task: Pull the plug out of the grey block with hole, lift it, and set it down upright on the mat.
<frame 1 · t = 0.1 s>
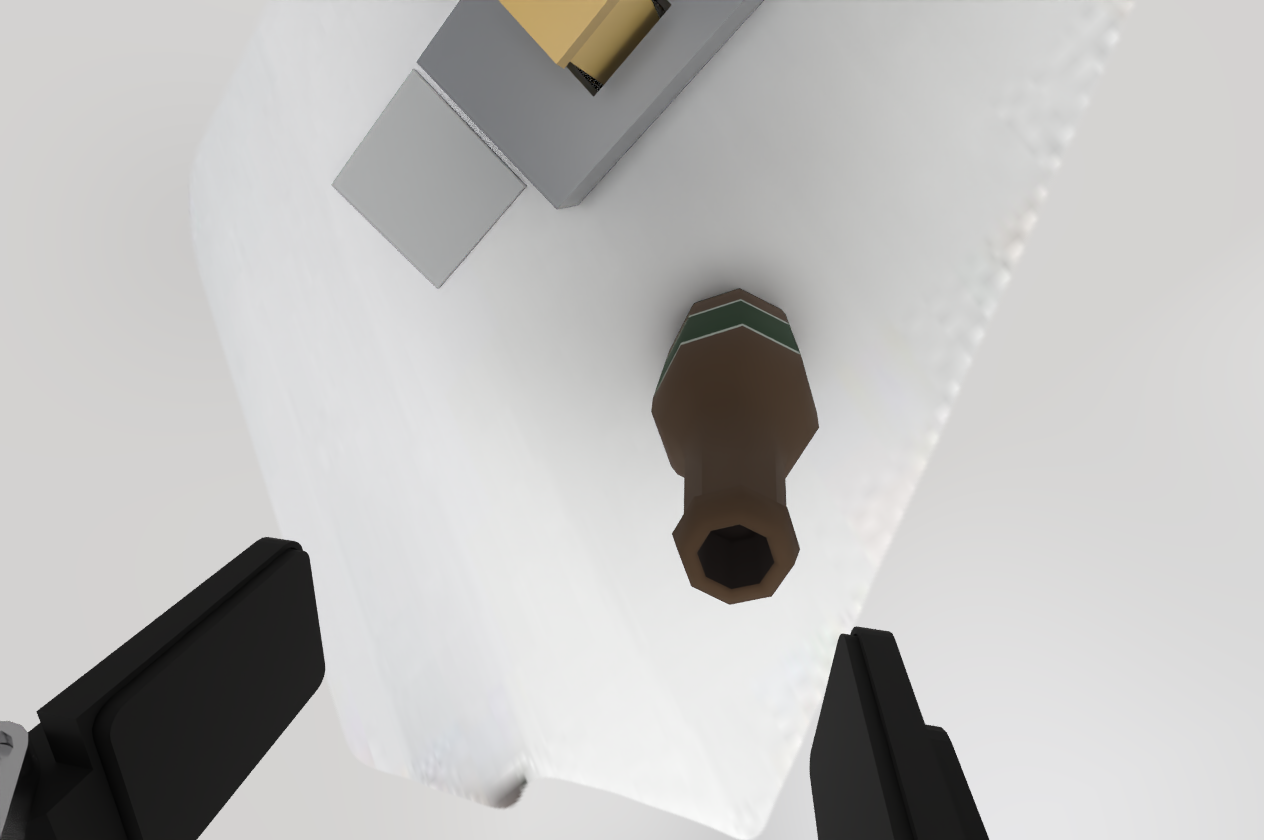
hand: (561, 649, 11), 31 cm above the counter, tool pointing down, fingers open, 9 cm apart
plug: (610, 29, 35), resting in grey block with hole
grey block with hole: (610, 29, 35), on the counter
beer bottle: (733, 346, 40), on the counter
mat: (428, 185, 39), on the counter
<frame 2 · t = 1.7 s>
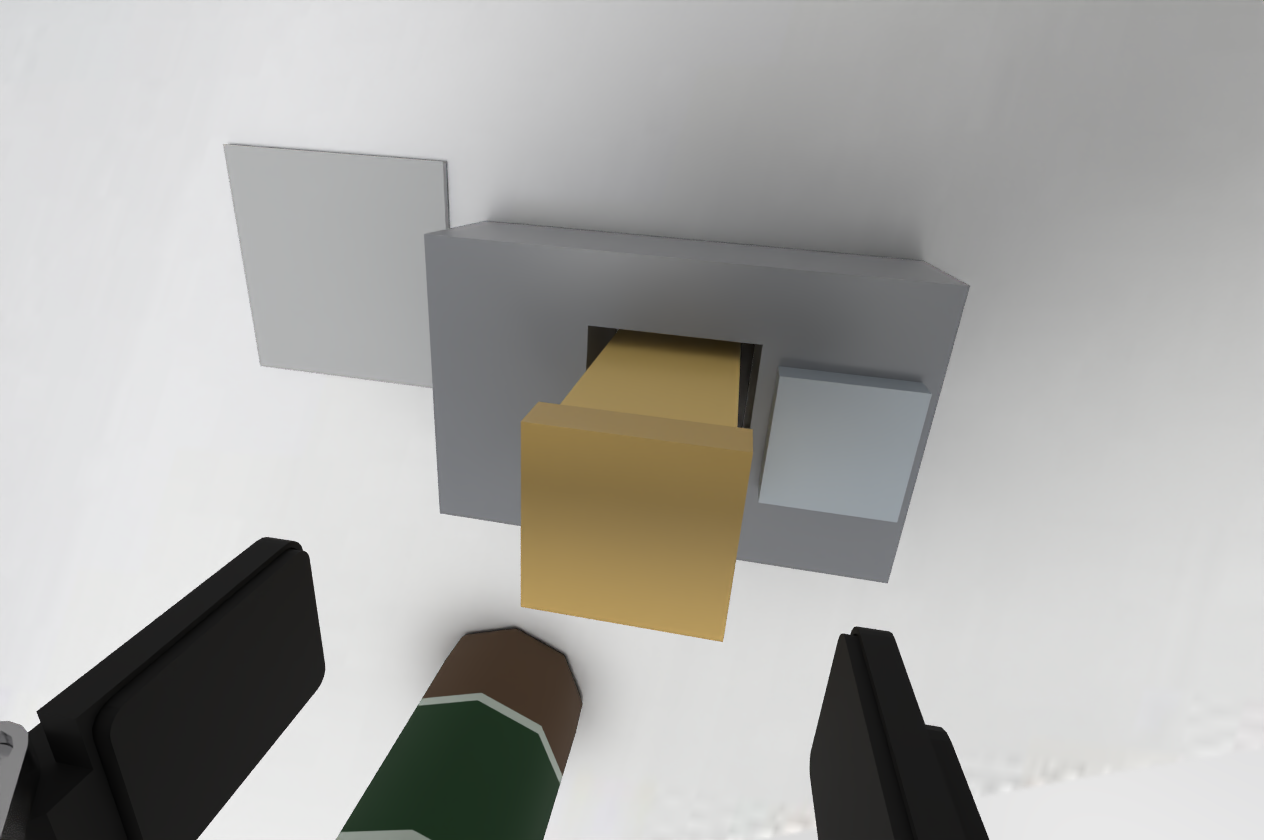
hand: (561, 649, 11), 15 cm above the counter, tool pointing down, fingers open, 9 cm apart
plug: (681, 369, 25), resting in grey block with hole
grey block with hole: (681, 370, 25), on the counter
beer bottle: (515, 679, 33), on the counter
mat: (347, 271, 26), on the counter
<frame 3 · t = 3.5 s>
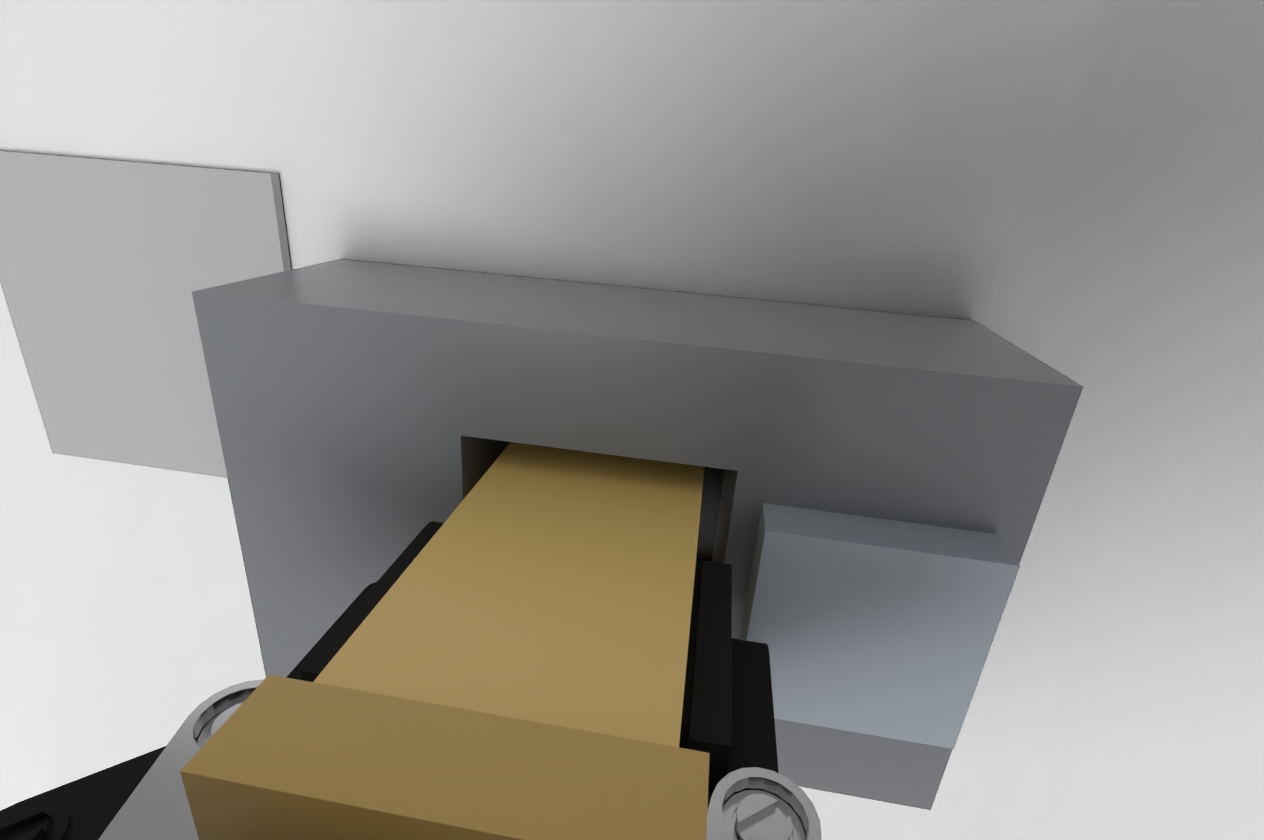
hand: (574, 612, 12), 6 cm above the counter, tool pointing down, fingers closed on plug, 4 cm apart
plug: (626, 466, 18), resting in grey block with hole, touching gripper
grey block with hole: (626, 466, 18), on the counter
mat: (157, 327, 18), on the counter
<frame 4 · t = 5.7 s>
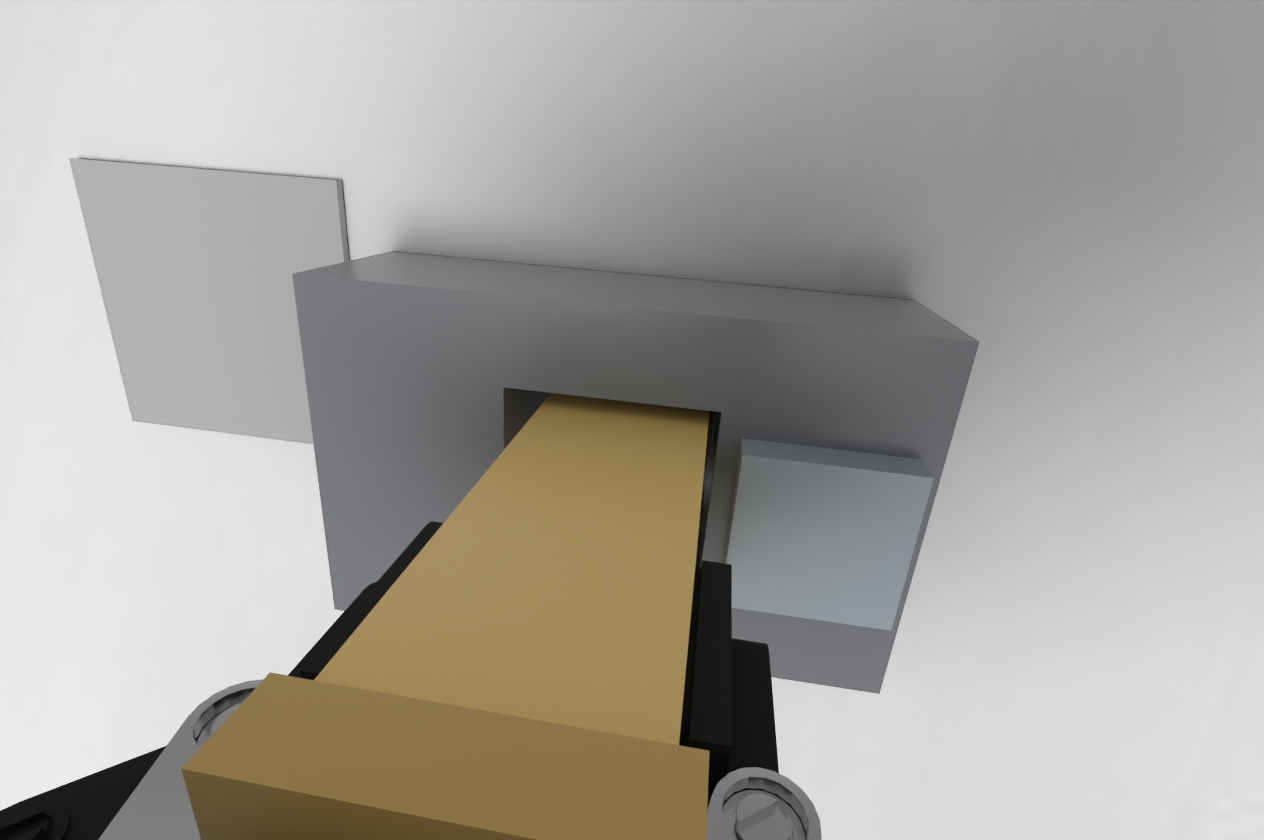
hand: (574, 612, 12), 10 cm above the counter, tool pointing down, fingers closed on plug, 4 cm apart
plug: (626, 466, 18), point 3 cm above the counter, touching gripper
grey block with hole: (630, 426, 21), on the counter
mat: (230, 310, 21), on the counter
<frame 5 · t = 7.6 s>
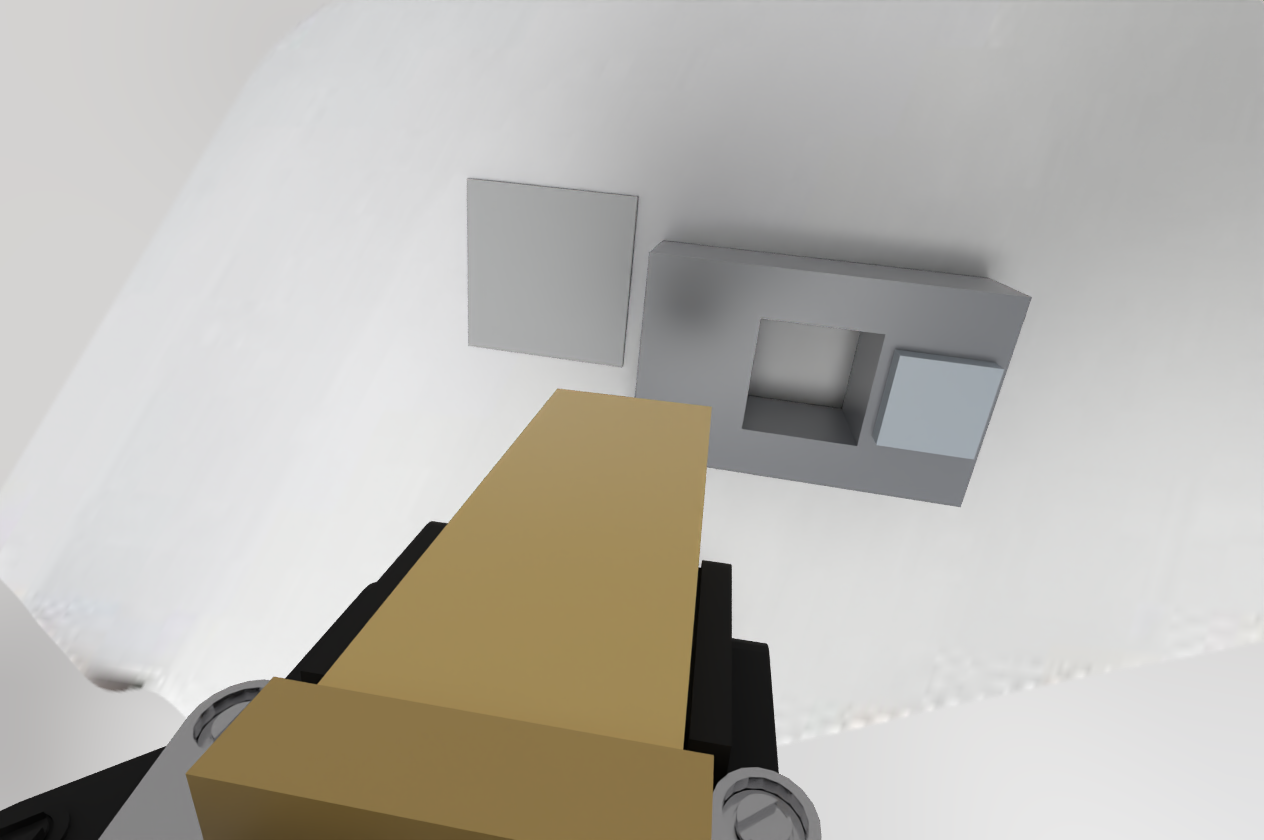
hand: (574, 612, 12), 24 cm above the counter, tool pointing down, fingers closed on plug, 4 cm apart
plug: (628, 467, 18), point 18 cm above the counter, touching gripper
grey block with hole: (801, 354, 33), on the counter
mat: (548, 275, 34), on the counter
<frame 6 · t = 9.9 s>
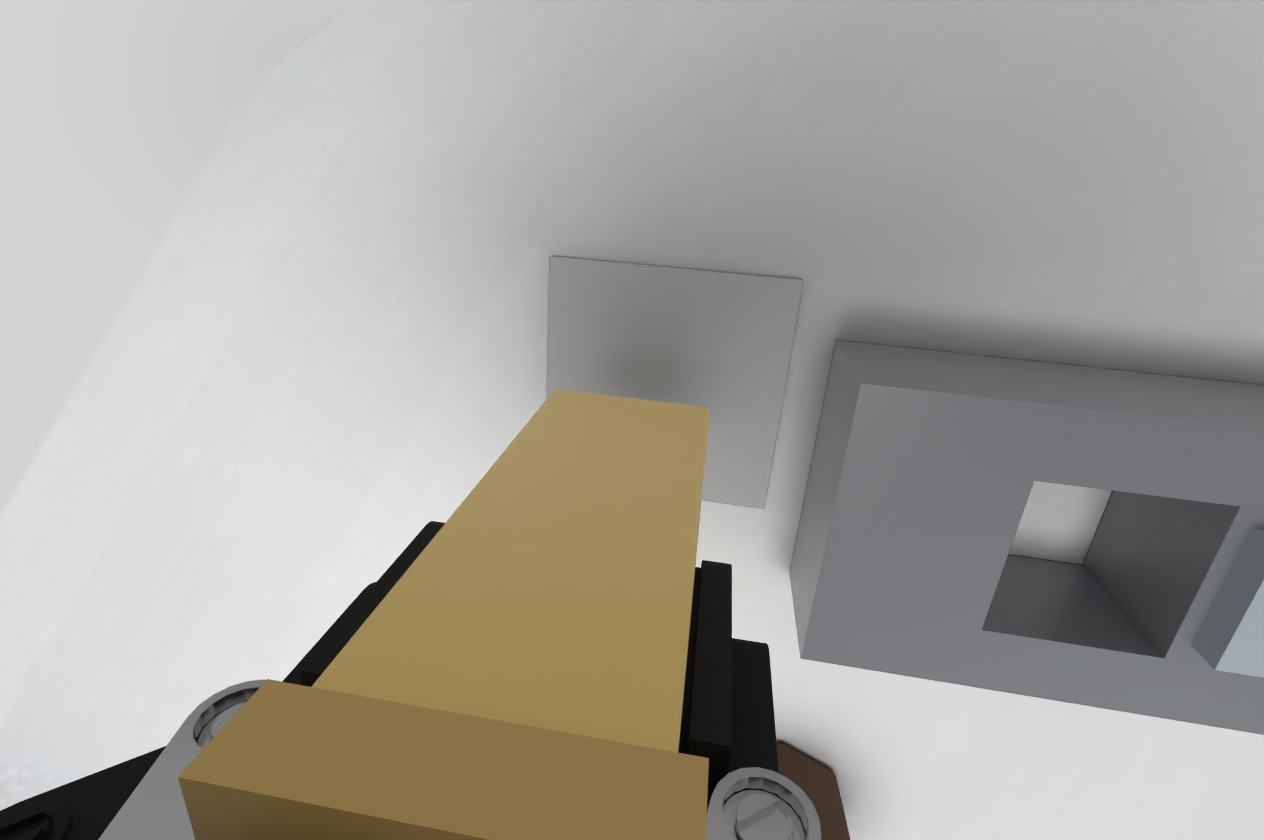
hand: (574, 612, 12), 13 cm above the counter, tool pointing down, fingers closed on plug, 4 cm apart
plug: (626, 468, 18), point 7 cm above the counter, touching gripper
grey block with hole: (1029, 493, 23), on the counter
beer bottle: (766, 790, 31), on the counter
mat: (662, 386, 24), on the counter
when the fingers open (8 cm above the counter, at t = 11.8 s): plug stays where it is, resting on mat.
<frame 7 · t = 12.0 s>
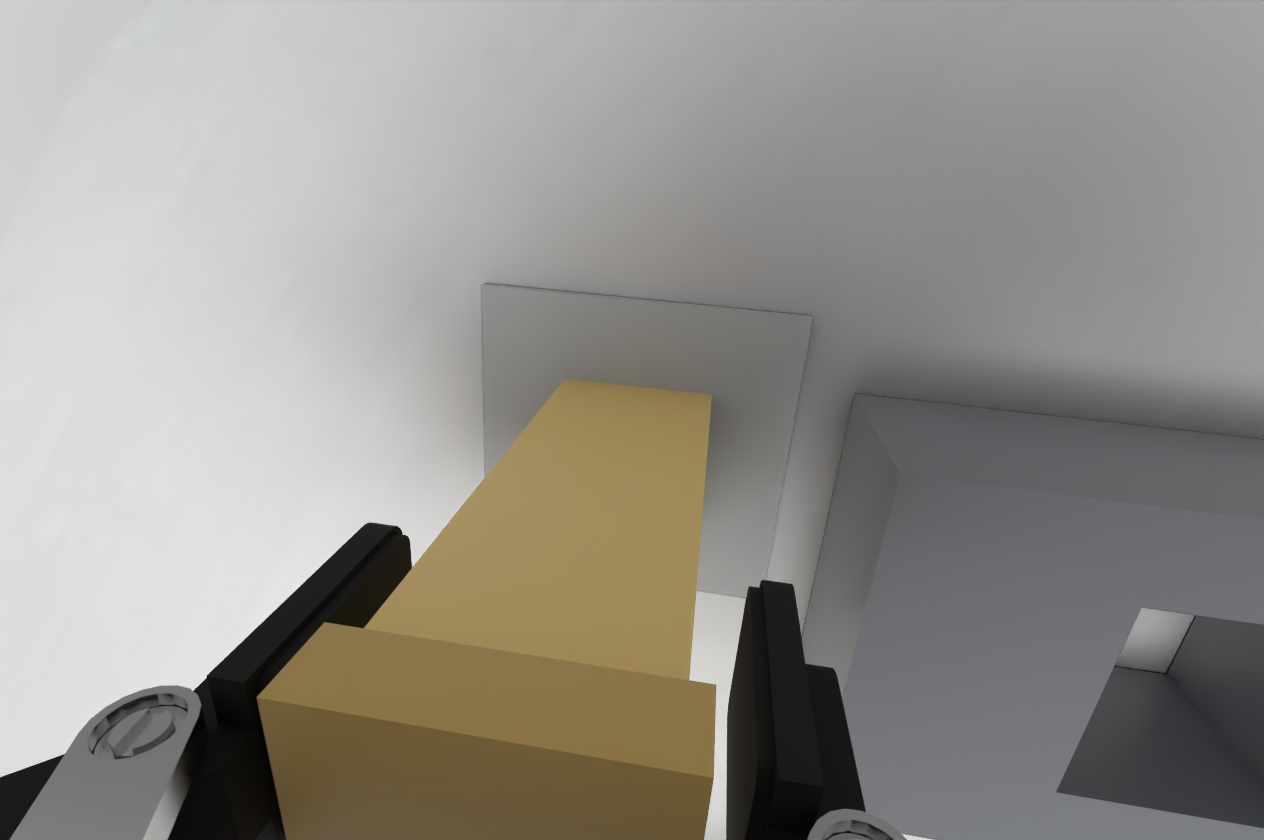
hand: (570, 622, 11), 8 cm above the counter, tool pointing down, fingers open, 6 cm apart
plug: (632, 453, 18), resting on mat
grey block with hole: (1102, 587, 18), on the counter
mat: (632, 448, 19), on the counter
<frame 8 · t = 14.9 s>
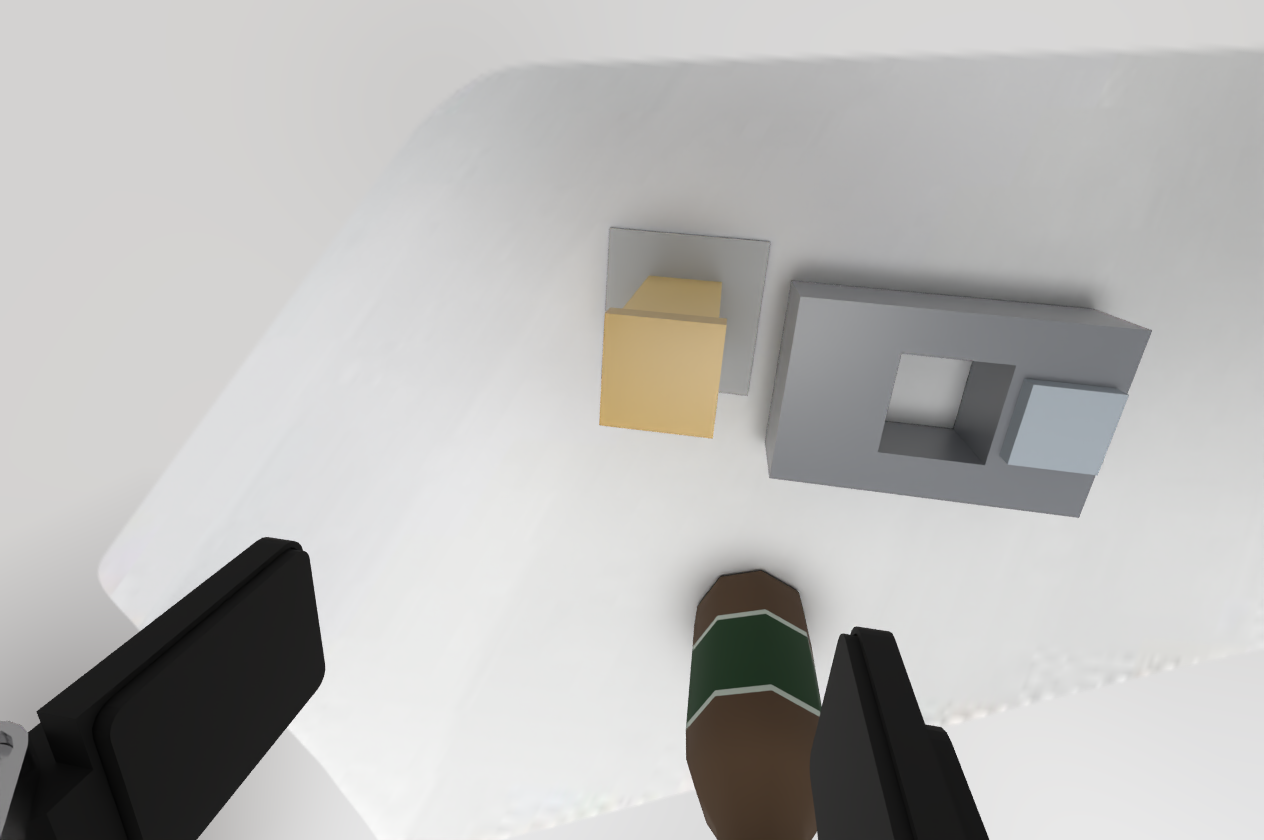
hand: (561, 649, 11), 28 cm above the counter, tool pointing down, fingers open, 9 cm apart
plug: (681, 315, 37), resting on mat
grey block with hole: (917, 380, 36), on the counter
beer bottle: (751, 611, 44), on the counter
mat: (681, 313, 37), on the counter
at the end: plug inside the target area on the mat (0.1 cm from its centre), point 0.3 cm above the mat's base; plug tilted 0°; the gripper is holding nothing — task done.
